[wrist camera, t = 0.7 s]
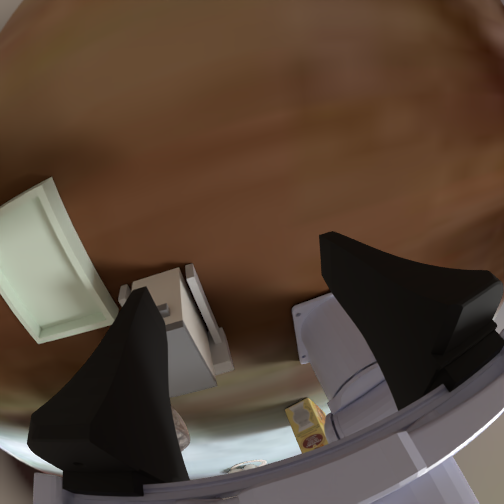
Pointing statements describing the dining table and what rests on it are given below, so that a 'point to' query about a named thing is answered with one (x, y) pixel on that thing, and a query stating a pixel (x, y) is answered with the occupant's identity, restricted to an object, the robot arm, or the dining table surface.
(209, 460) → the dining table surface
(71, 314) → the tray
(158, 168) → the dining table surface
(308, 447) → the candy box
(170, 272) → the block
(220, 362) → the bay
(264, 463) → the white headphones
